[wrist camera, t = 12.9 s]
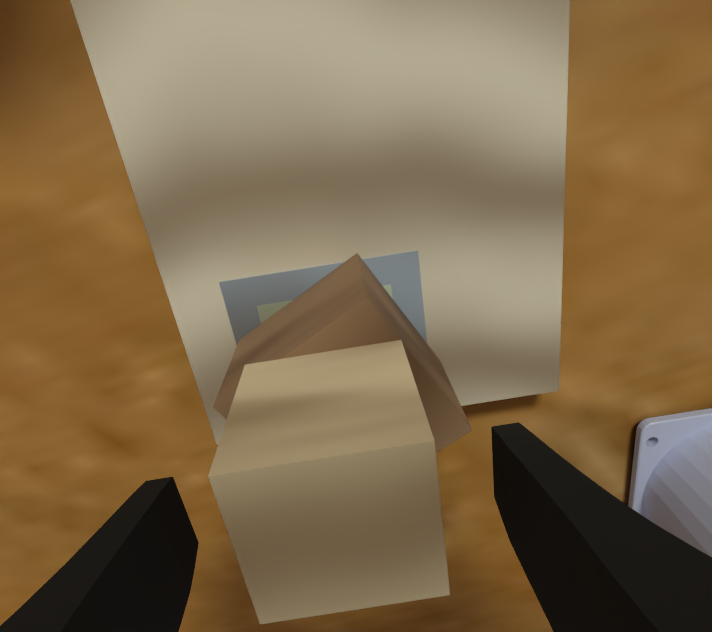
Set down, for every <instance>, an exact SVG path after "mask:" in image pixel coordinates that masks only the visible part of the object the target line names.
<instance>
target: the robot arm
mask: <svg viewBox="0 0 712 632" xmlns="http://www.w3.org/2000/svg"><path fill="white" fill-rule="evenodd" d="M649 438H651V439H649ZM648 439H649V440H648ZM647 440H648V441H647ZM492 451H493V476H494V497H495V500H496V503H497V506H498V509H499V512H500V514H501V517H502V520H503V523H504V526H505V529H506V531H507V534H508V537H509V540H510V542H511V544H512V546H513V548H514V551H515V553H516V555H517V557H518V559H519V561H520V563H521V565H522V567H523V569H524V571H525V574H526V576H527V578H528V580H529V582H530V584H531V586H532V588H533V590H534V592H535V594H536V596H537V598H538V600H539V602H540V604H541V606H542V609H543V611H544V613H545V615H546V617H547V619H548V621H549V623H550V625H551V627H552V629H553V631H554V632H712V408H710V409H703V410H697V411H691V412H684V413H678V414H672V415H665V416H659V417H652V418H648V419H644V420H643V421H641V422H640V423H639V425H638V426H637V429H636V438H635V448H634V457H633V466H632V475H631V484H630V493H629V502H628V506H627V505H626V504H624V503H623V502H621V501H620V500H618V499H617V498H616V497H614V496H613V495H611V494H610V493H609V492H607V491H606V490H604V489H603V488H602V487H600V486H599V485H598V484H596V483H595V482H594V481H592V480H591V479H590V478H588V477H587V476H586V475H584V474H583V473H582V472H580V471H579V470H578V469H576V468H575V467H574V466H572V465H571V464H570V463H569V462H567V461H566V460H565V459H564V458H562V457H561V456H560V455H559V454H557V453H556V452H555V451H554V450H552V449H551V448H550V447H549V446H547V445H546V444H545V443H544V442H542V441H541V440H540V439H539V438H538V437H536V436H535V435H534V434H533V433H531V432H530V431H529V430H528V429H526V428H525V427H524V426H523V425H521V424H520V423H512V424H506V425H500V426H493V427H492ZM197 549H198V540H197V538H196V535H195V533H194V530H193V527H192V525H191V522H190V520H189V517H188V515H187V512H186V509H185V507H184V504H183V502H182V499H181V497H180V494H179V492H178V489H177V486H176V484H175V481H174V479H173V477H169V478H162V479H156V480H150V481H146V482H145V483H144V484H143V485H141V486H140V487H139V488H138V489H137V490H136V491H135V492H134V493H133V494H132V495H131V496H130V497H129V498H128V499H127V501H126V502H125V503H124V504H123V505H122V506H121V507H120V508H119V509H118V510H117V511H116V512H115V513H114V514H113V515H112V516H111V517H110V518H109V519H108V520H107V521H106V523H105V524H104V525H103V526H102V527H101V528H100V529H99V530H98V531H97V532H96V533H95V534H94V535H93V536H92V537H91V538H90V539H89V540H88V541H87V542H86V543H85V544H84V545H83V546H82V547H81V548H80V550H79V551H78V552H77V553H76V554H75V555H74V556H73V557H72V558H71V559H70V560H69V561H68V562H67V563H66V564H65V565H64V566H63V567H62V568H61V569H60V570H59V571H58V572H57V573H56V574H55V575H54V576H52V577H51V578H50V579H49V580H48V581H47V582H46V583H45V584H44V585H43V586H42V587H41V588H40V589H39V590H38V591H37V592H36V593H35V594H34V595H33V596H32V597H31V598H30V599H29V600H28V601H27V602H26V603H25V604H24V605H23V606H22V607H21V608H19V609H18V610H17V611H16V612H15V613H14V614H13V615H12V616H11V617H10V618H9V619H7V620H6V621H5V622H4V623H3V624H2V625H1V626H0V632H178V631H179V628H180V624H181V621H182V618H183V614H184V611H185V607H186V604H187V600H188V597H189V593H190V590H191V584H192V579H193V574H194V568H195V562H196V555H197Z"/></svg>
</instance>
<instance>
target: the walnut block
mask: <svg viewBox="0 0 712 632" xmlns="http://www.w3.org/2000/svg"><path fill="white" fill-rule="evenodd" d="M397 340H402V343H403V346H404V350H405V353H406V356H407V359H408V362H409V365H410V368H411V371H412V374H413V377H414V380H415V383H416V386H417V389H418V392H419V395H420V398H421V401H422V404H423V407H424V410H425V413H426V416H427V419H428V422H429V425H430V428H431V432H432V435H433V438H434V441H435V451H436V452H438V451H439V450H441V449H443V448H444V447H446V446H448V445H449V444H451V443H452V442H454V441H456V440H457V439H459V438H461V437H462V436H464V435H466V434H467V433H469V432H470V431H472V428H471V426H470V424H469V422H468V420H467V418H466V415H465V413H464V411H463V409H462V407H461V405H460V402H459V400H458V398H457V396H456V394H455V391H454V389H453V387H452V385H451V383H450V381H449V378H448V376H447V374H446V372H445V370H444V368H443V365H442V363H441V361H440V360H439V359H438V357H437V356H436V355H435V353H434V352H433V351H432V349H431V348H430V347H429V346H428V344H427V343H426V342H425V340H424V339H423V338H422V336H421V335H420V334H419V333H418V331H417V330H416V329H415V327H414V326H413V325H412V323H411V322H410V321H409V320H408V318H407V317H406V316H405V314H404V313H403V312H402V310H401V309H400V308H399V307H398V305H397V304H396V303H395V301H394V300H393V299H392V298H391V296H390V295H389V294H388V292H387V291H386V290H385V288H384V287H383V286H382V285H381V283H380V282H379V281H378V279H377V278H376V277H375V275H374V274H373V273H372V272H371V270H370V269H369V268H368V266H367V265H366V264H365V262H364V261H363V260H362V259H361V257H360V256H359V255H358V253H356V254H355V255H354V256H352V257H351V258H349V259H348V260H347V261H345V262H344V263H343V264H341V265H340V266H339V267H337V268H336V269H335V270H333V271H332V272H331V273H329V274H328V275H326V276H325V277H324V278H322V279H321V280H320V281H318V282H317V283H316V284H314V285H313V286H312V287H310V288H309V289H307V290H306V291H305V292H303V293H302V294H301V295H299V296H298V297H297V298H295V299H294V300H293V301H291V302H290V303H288V304H287V305H286V306H284V307H283V308H282V309H280V310H279V311H278V312H276V313H275V314H274V315H272V316H271V317H270V318H268V319H267V320H265V321H264V322H263V323H261V324H260V325H259V326H257V327H256V328H255V329H253V330H252V331H251V332H249V333H248V334H246V335H245V336H244V337H242V338H241V339H240V340H239V341H238V344H237V347H236V349H235V352H234V354H233V357H232V359H231V362H230V364H229V367H228V370H227V372H226V375H225V377H224V380H223V382H222V385H221V387H220V390H219V393H218V395H217V398H216V400H215V403H214V405H213V408H214V409H216V410H217V411H218V412H219V413H220V414H221V415H222V416H223V417H224V418H225V419H226V420H227V417H228V414H229V411H230V408H231V405H232V402H233V399H234V396H235V393H236V390H237V387H238V384H239V381H240V378H241V375H242V372H243V369H244V366H245V365H246V364H252V363H259V362H265V361H271V360H277V359H284V358H290V357H296V356H303V355H309V354H315V353H322V352H328V351H334V350H340V349H347V348H353V347H359V346H366V345H372V344H378V343H385V342H391V341H397Z"/></svg>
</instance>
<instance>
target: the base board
mask: <svg viewBox="0 0 712 632" xmlns="http://www.w3.org/2000/svg"><path fill="white" fill-rule="evenodd" d="M70 1H71V4H72V7H73V10H74V13H75V16H76V19H77V22H78V25H79V28H80V31H81V35H82V38H83V41H84V44H85V47H86V50H87V53H88V56H89V59H90V62H91V65H92V68H93V71H94V74H95V77H96V80H97V83H98V86H99V89H100V92H101V95H102V98H103V101H104V104H105V107H106V110H107V113H108V116H109V119H110V122H111V125H112V128H113V131H114V134H115V137H116V141H117V144H118V147H119V150H120V153H121V156H122V159H123V162H124V165H125V168H126V171H127V174H128V177H129V180H130V183H131V186H132V189H133V192H134V195H135V198H136V201H137V204H138V207H139V210H140V213H141V216H142V219H143V222H144V225H145V228H146V231H147V234H148V237H149V240H150V243H151V247H152V250H153V253H154V256H155V259H156V262H157V265H158V268H159V271H160V274H161V277H162V280H163V283H164V286H165V289H166V292H167V295H168V298H169V301H170V304H171V307H172V310H173V313H174V316H175V319H176V322H177V325H178V328H179V331H180V334H181V337H182V340H183V343H184V346H185V349H186V353H187V356H188V359H189V362H190V365H191V368H192V371H193V374H194V377H195V380H196V383H197V386H198V389H199V392H200V395H201V398H202V401H203V404H204V407H205V410H206V413H207V416H208V419H209V422H210V425H211V428H212V431H213V434H214V437H215V440H216V443H217V444H219V442H220V438H221V435H222V432H223V429H224V426H225V423H226V419H225V418H224V417H223V416H222V415H221V414H220V413H219V412H218V411H217V410H216V409H214V408H213V405H214V403H215V400H216V398H217V395H218V393H219V390H220V387H221V385H222V382H223V380H224V377H225V375H226V372H227V370H228V367H229V364H230V362H231V359H232V357H233V354H234V352H235V349H236V347H237V344H238V341H239V340H240V339H241V338H242V337H244V336H245V335H246V334H248V333H249V332H251V331H252V330H253V329H255V328H256V327H257V326H259V325H260V324H261V323H263V322H264V321H265V320H267V319H268V318H270V317H271V316H272V315H274V314H275V313H276V312H278V311H279V310H280V309H282V308H283V307H284V306H286V305H287V304H288V303H290V302H291V301H293V300H294V299H295V298H297V297H298V296H299V295H301V294H302V293H303V292H305V291H306V290H307V289H309V288H310V287H312V286H313V285H314V284H316V283H317V282H318V281H320V280H321V279H322V278H324V277H325V276H326V275H328V274H329V273H331V272H332V271H333V270H335V269H336V268H337V267H339V266H340V265H341V264H343V263H344V262H345V261H347V260H348V259H349V258H351V257H352V256H354V255H355V254H356V253H358V255H359V256H360V257H361V259H362V260H363V261H364V262H365V264H366V265H367V266H368V268H369V269H370V270H371V272H372V273H373V274H374V275H375V277H376V278H377V279H378V281H379V282H380V283H381V285H382V286H383V287H384V288H385V290H386V291H387V292H388V294H389V295H390V296H391V298H392V299H393V300H394V301H395V303H396V304H397V305H398V307H399V308H400V309H401V310H402V312H403V313H404V314H405V316H406V317H407V318H408V320H409V321H410V322H411V323H412V325H413V326H414V327H415V329H416V330H417V331H418V333H419V334H420V335H421V336H422V338H423V339H424V340H425V342H426V343H427V344H428V346H429V347H430V348H431V349H432V351H433V352H434V353H435V355H436V356H437V357H438V359H439V360H440V361H441V363H442V365H443V368H444V370H445V372H446V374H447V376H448V378H449V381H450V383H451V385H452V387H453V389H454V391H455V394H456V396H457V398H458V400H459V402H460V405H461V406H465V405H471V404H477V403H484V402H490V401H496V400H503V399H509V398H515V397H522V396H528V395H535V394H541V393H547V392H554V391H559V372H560V337H561V301H562V265H563V230H564V194H565V158H566V123H567V87H568V52H569V16H570V0H70Z"/></svg>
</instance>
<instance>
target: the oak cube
mask: <svg viewBox="0 0 712 632" xmlns="http://www.w3.org/2000/svg"><path fill="white" fill-rule="evenodd" d="M208 477H209V480H210V483H211V486H212V489H213V492H214V494H215V497H216V500H217V503H218V506H219V509H220V511H221V514H222V517H223V520H224V523H225V526H226V529H227V531H228V534H229V537H230V540H231V543H232V546H233V548H234V551H235V554H236V557H237V560H238V563H239V566H240V568H241V571H242V574H243V577H244V580H245V583H246V586H247V588H248V591H249V594H250V597H251V600H252V603H253V605H254V608H255V611H256V614H257V617H258V620H259V623H260V624H266V623H272V622H279V621H285V620H292V619H298V618H305V617H311V616H318V615H324V614H331V613H337V612H343V611H350V610H356V609H363V608H369V607H376V606H382V605H389V604H395V603H402V602H408V601H414V600H421V599H427V598H434V597H440V596H447V595H450V589H449V579H448V569H447V560H446V550H445V540H444V530H443V520H442V510H441V500H440V490H439V480H438V470H437V461H436V451H435V441H434V438H433V435H432V432H431V428H430V425H429V422H428V419H427V416H426V413H425V410H424V407H423V404H422V401H421V398H420V395H419V392H418V389H417V386H416V383H415V380H414V377H413V374H412V371H411V368H410V365H409V362H408V359H407V356H406V353H405V350H404V346H403V343H402V340H397V341H391V342H385V343H378V344H372V345H366V346H359V347H353V348H347V349H340V350H334V351H328V352H322V353H315V354H309V355H303V356H296V357H290V358H284V359H277V360H271V361H265V362H259V363H252V364H246V365H245V366H244V369H243V372H242V375H241V378H240V381H239V384H238V387H237V390H236V393H235V396H234V399H233V402H232V405H231V408H230V411H229V414H228V417H227V420H226V423H225V426H224V429H223V432H222V435H221V438H220V442H219V445H218V448H217V451H216V454H215V457H214V460H213V463H212V466H211V469H210V472H209V475H208Z"/></svg>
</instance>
